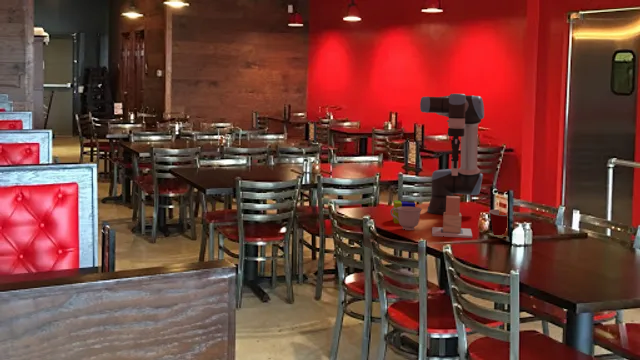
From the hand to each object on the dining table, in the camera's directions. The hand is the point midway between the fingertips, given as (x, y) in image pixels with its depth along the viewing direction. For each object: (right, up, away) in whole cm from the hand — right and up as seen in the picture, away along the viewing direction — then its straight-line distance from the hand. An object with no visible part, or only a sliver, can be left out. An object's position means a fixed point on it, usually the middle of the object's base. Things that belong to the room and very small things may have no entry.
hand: (454, 173), depth 374 cm
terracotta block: (-1, -19, +2) cm, 19 cm away
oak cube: (-1, -27, +3) cm, 27 cm away
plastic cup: (+20, -29, -4) cm, 36 cm away
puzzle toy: (-20, -24, +32) cm, 45 cm away
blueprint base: (-1, -28, +3) cm, 28 cm away
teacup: (-21, -26, +12) cm, 36 cm away
